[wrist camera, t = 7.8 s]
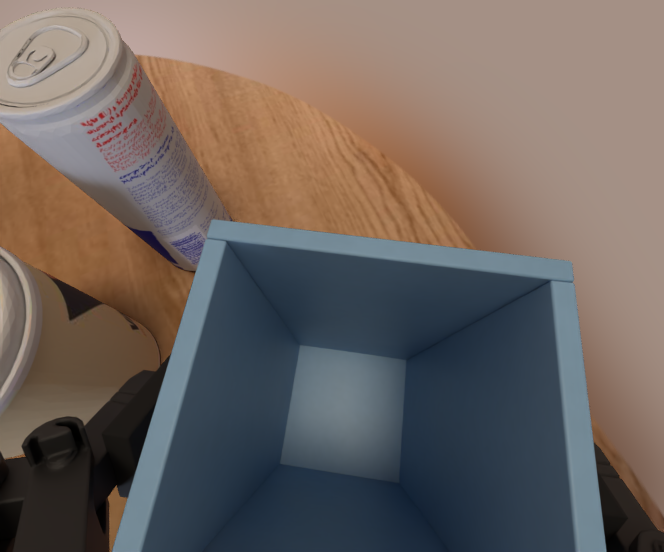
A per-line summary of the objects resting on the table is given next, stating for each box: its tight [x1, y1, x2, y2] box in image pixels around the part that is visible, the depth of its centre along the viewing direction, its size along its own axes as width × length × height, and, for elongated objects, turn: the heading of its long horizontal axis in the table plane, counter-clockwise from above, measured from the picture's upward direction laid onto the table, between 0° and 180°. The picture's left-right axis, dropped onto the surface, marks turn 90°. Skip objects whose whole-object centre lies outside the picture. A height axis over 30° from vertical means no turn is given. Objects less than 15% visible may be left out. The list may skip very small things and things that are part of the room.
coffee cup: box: [0, 246, 160, 459], centre depth 17 cm, size 9×9×12 cm
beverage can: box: [0, 8, 233, 271], centre depth 19 cm, size 6×6×15 cm
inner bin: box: [112, 219, 606, 552], centre depth 13 cm, size 8×8×16 cm
